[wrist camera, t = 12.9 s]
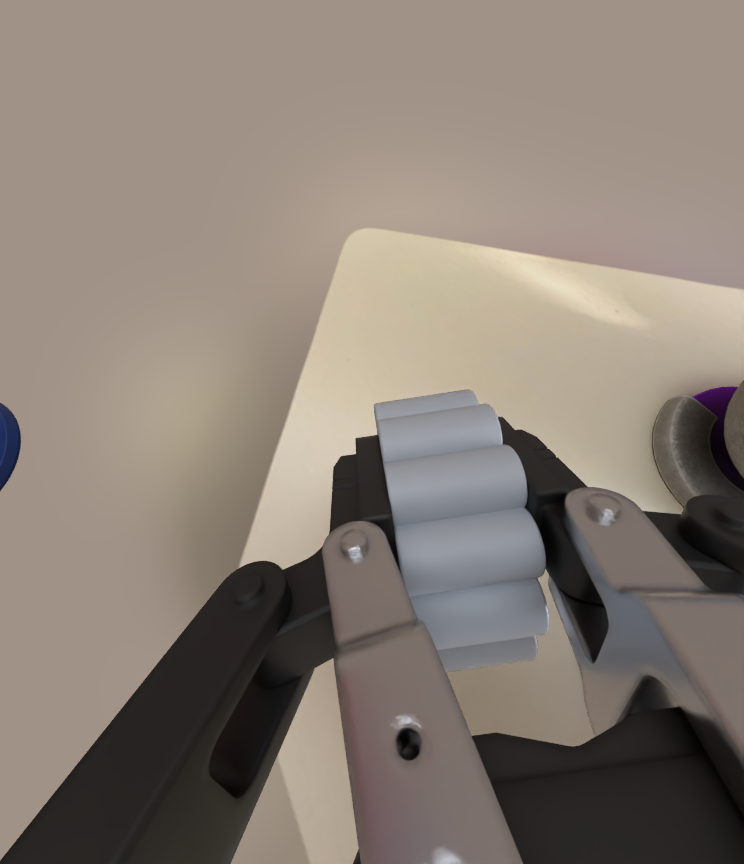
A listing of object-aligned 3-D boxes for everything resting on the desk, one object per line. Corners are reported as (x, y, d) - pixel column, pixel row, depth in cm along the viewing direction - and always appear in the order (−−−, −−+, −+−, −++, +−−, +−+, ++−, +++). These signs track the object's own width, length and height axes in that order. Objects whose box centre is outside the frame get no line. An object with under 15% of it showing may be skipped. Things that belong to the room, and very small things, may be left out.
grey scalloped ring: (405, 623, 13) (429, 760, 6) (377, 437, 15) (367, 357, 8) (478, 613, 13) (597, 736, 6) (440, 428, 15) (489, 338, 8)
